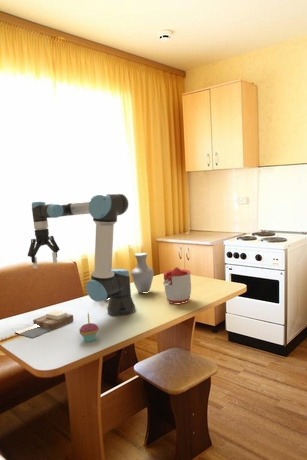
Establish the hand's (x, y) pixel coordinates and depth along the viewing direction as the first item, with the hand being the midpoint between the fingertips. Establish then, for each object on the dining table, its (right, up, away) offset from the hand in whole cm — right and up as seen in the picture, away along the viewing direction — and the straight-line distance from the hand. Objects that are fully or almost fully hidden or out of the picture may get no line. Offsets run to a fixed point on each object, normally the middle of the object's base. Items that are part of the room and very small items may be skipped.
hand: (45, 265), depth 205 cm
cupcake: (+33, -28, -45) cm, 63 cm away
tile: (+12, -24, -20) cm, 33 cm away
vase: (+55, -20, +24) cm, 64 cm away
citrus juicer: (+75, -21, 0) cm, 78 cm away
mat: (+3, -29, -31) cm, 42 cm away
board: (+10, -27, -20) cm, 36 cm away
